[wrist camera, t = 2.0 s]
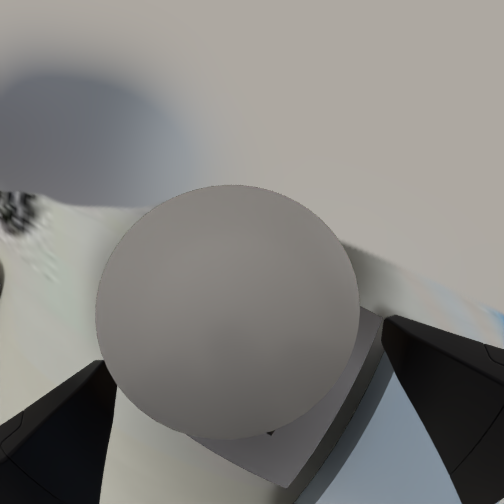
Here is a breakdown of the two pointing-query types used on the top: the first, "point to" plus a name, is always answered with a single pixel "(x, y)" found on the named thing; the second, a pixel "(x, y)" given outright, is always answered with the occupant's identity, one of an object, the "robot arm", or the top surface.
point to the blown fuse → (227, 312)
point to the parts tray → (382, 454)
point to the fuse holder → (298, 422)
